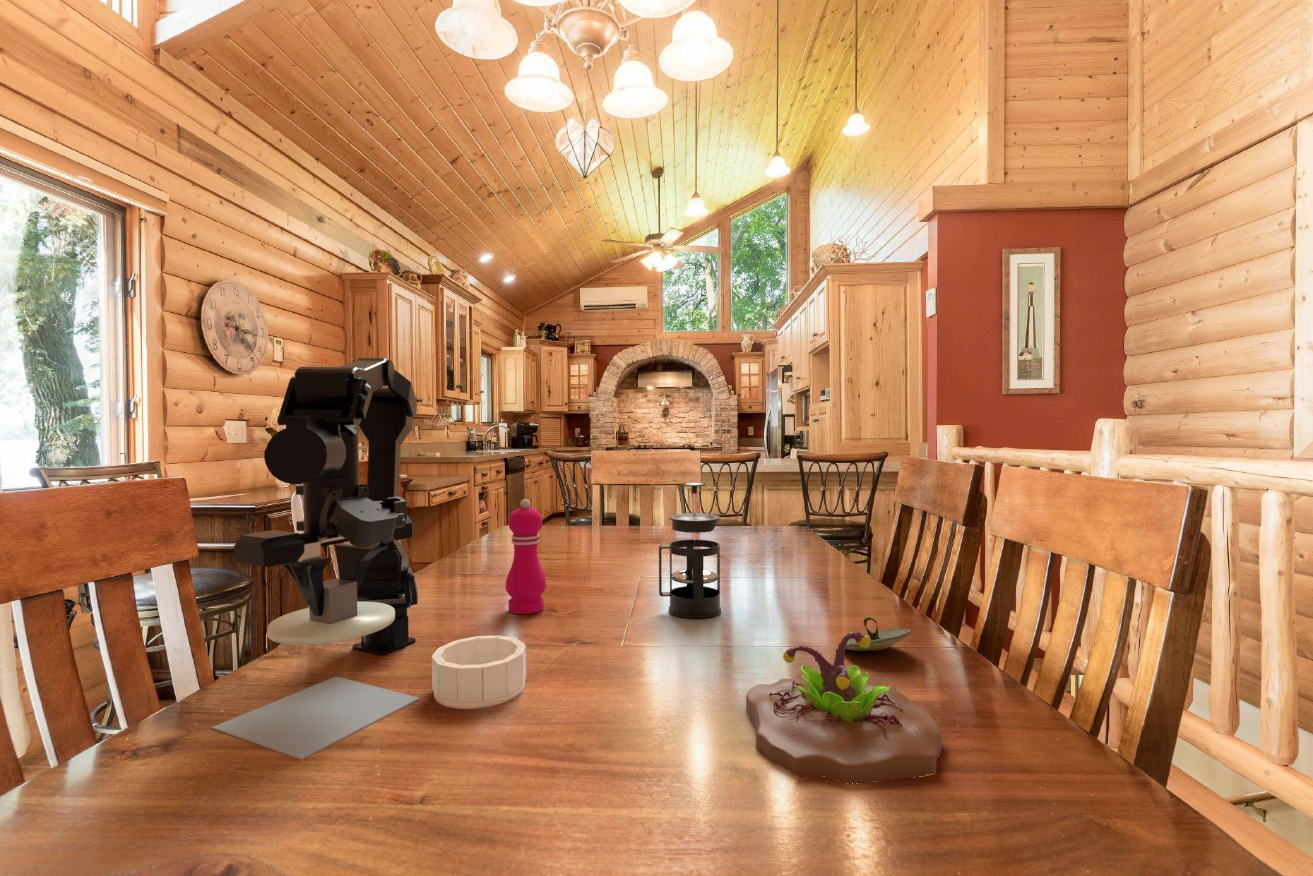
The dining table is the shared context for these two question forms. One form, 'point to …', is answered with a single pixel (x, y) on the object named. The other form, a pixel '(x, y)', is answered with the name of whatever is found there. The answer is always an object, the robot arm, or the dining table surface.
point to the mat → (316, 716)
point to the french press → (693, 566)
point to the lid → (879, 638)
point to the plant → (842, 723)
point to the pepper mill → (525, 562)
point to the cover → (332, 618)
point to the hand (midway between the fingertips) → (333, 610)
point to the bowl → (478, 671)
